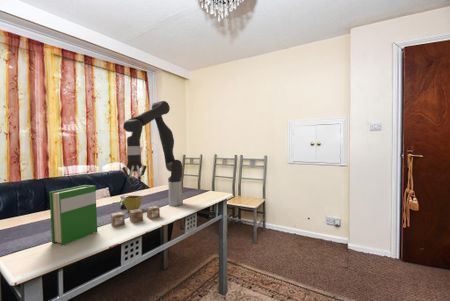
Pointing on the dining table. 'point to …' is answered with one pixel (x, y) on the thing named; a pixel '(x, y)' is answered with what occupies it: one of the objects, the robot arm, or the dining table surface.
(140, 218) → the plain block
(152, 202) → the dining table surface
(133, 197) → the flower pot
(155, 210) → the labelled block
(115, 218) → the labelled block
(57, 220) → the hardback book
